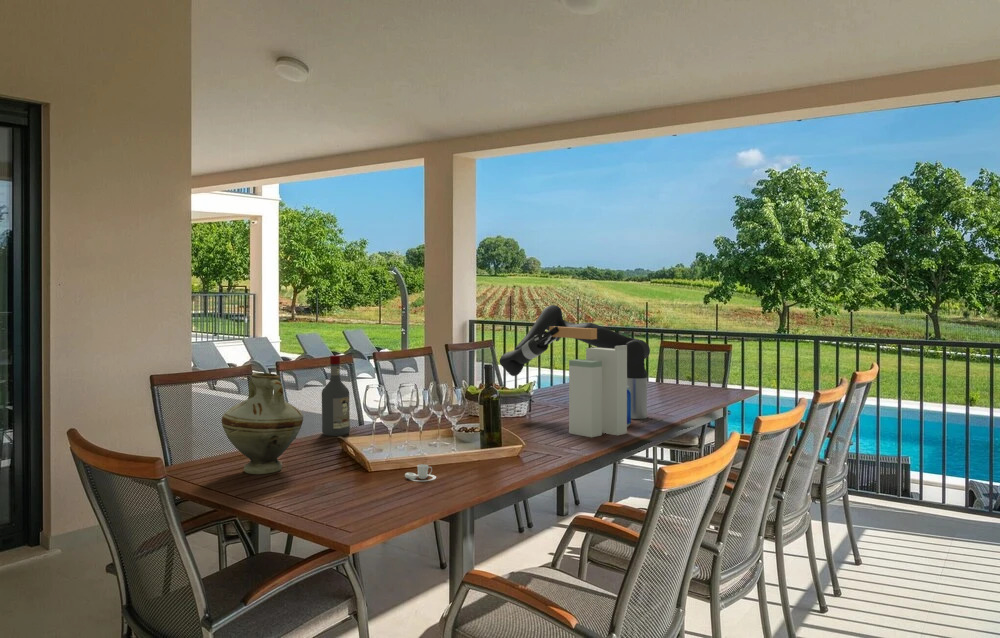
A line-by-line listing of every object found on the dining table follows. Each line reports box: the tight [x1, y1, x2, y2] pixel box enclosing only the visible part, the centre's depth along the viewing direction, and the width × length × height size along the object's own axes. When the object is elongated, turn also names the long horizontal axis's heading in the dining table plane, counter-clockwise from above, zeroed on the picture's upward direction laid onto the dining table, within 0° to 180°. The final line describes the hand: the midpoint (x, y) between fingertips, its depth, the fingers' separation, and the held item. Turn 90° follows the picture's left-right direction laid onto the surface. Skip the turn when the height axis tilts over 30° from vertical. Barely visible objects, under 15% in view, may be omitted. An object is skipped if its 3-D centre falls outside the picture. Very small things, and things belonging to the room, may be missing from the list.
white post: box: [585, 345, 628, 436], centre depth 278 cm, size 15×6×34 cm, turn 44°
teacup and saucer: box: [404, 463, 437, 482], centre depth 212 cm, size 9×8×4 cm
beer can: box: [627, 386, 632, 428], centre depth 291 cm, size 8×8×16 cm
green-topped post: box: [568, 358, 603, 438], centre depth 274 cm, size 11×6×28 cm, turn 44°
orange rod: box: [549, 326, 597, 339], centre depth 287 cm, size 22×4×4 cm, turn 43°
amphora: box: [221, 372, 304, 475], centre depth 221 cm, size 24×24×30 cm
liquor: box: [321, 355, 351, 437], centre depth 277 cm, size 9×9×30 cm
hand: (561, 328), depth 292 cm, fingers closed on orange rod, 3 cm apart
